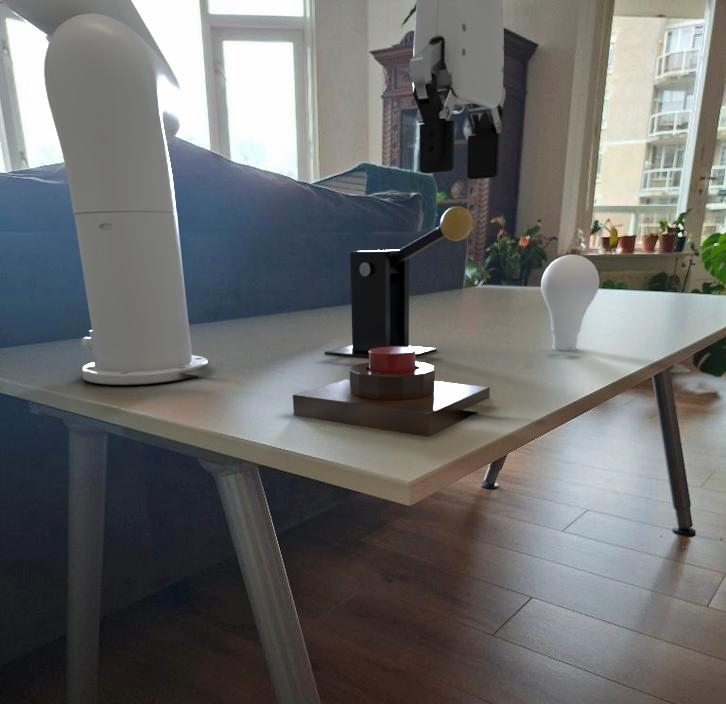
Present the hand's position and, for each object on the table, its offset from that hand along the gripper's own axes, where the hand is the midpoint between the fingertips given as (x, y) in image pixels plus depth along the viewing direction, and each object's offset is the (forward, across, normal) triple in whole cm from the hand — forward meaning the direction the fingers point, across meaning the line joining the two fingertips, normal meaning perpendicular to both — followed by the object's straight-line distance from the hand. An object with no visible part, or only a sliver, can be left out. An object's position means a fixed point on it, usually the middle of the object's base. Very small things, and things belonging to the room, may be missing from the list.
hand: (460, 175), depth 64 cm
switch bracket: (+18, 0, -10) cm, 21 cm away
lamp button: (+15, +20, +5) cm, 26 cm away
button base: (+18, +20, +4) cm, 28 cm away
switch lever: (+8, 0, -4) cm, 9 cm away
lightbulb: (+19, -12, +8) cm, 24 cm away
